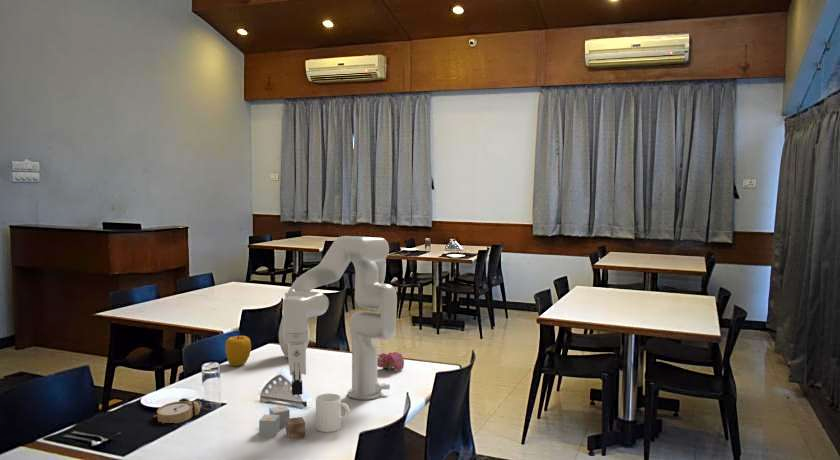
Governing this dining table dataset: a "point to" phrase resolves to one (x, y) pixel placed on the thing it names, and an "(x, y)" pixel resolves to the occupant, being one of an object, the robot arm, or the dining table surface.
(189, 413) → the alarm clock
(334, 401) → the mug
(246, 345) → the apple
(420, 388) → the dining table surface
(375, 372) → the robot arm
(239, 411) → the dining table surface
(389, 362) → the flower
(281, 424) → the block two
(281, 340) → the vase
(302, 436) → the plain block
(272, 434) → the block one
